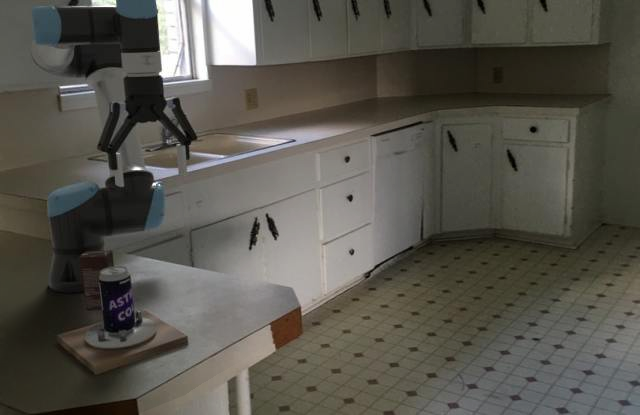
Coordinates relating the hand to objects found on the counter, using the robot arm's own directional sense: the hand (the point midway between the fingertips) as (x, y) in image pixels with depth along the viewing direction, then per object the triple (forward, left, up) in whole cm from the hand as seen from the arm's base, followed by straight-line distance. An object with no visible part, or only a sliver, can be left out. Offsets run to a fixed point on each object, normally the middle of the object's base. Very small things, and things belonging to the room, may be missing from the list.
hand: (152, 180), depth 139 cm
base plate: (+10, -14, -28) cm, 33 cm away
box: (-11, -9, -28) cm, 31 cm away
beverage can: (+10, -14, -26) cm, 31 cm away
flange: (+10, -14, -26) cm, 31 cm away
